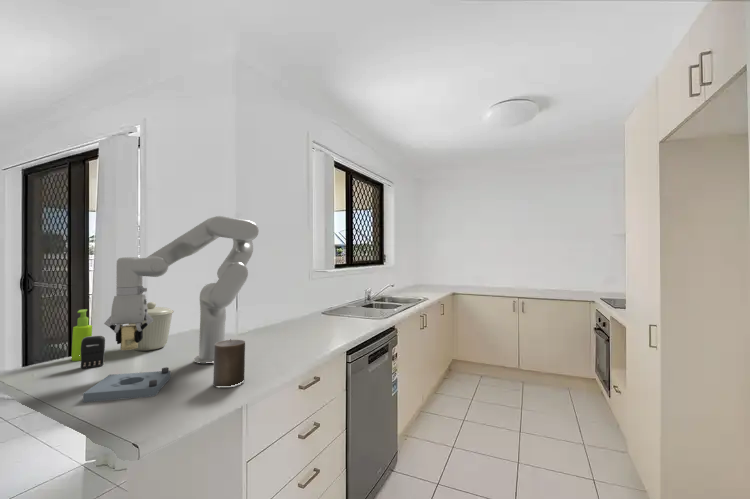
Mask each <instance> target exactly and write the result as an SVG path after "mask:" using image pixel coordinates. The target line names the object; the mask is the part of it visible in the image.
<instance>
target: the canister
mask: <svg viewBox="0 0 750 499" xmlns="http://www.w3.org/2000/svg"><path fill="white" fill-rule="evenodd" d="M156 305H157V304H156V302H155V301H150V302H147V309H148V314H149V316H150V317H151V318H152V319H153V322H151V323H150V324H149V325H147V326H146V327H145V328H144V329H143V339H142V340H141V341H140V342H138V348H136V349H133V350H134V351H137V352H138V351H139V352H141V351H142V352H147V351H154V350H158V349H162V348H163V347H165V346H167V343H168V339H169V334H170V330H171V329H170V328H171V322H172V315H173V313H174V312H175V310H172V309H171V308H169V307H164V306H163V307H161V306H156ZM145 322H147V320H145V321H143V322H142V323H143V324H144V323H145ZM134 324H135V323H134ZM128 325H132V324H128Z"/></svg>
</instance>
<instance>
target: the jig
mask: <svg viewBox="0 0 750 499" xmlns="http://www.w3.org/2000/svg"><path fill="white" fill-rule="evenodd" d="M169 369H170V368H169V367H167V366H166V367H162V368H161V370H160V371H159V370H158V371H145V372H129V373H117V374H116V373H114V374H109V375H107V376H106V377H104V378H103V379H101V380H100V381H98V383H96V384H94V385H93V386H92V387H90V388H88V389H87V390H86V391H85V392H83V395H82V403H89V402H90V403H91V402H102V401H111V400H112V401H114V400H115V401H116V400H126V399H137V398H149V397H150V398H151V397H155V396H156V395H157V394H158V393H159V392H160V391H161V390H162V388H163V387H164V386H165V385H166V384H167V383H168V382H169V381H170V379H171V372H172V371H171V370H169Z"/></svg>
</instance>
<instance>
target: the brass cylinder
mask: <svg viewBox="0 0 750 499" xmlns="http://www.w3.org/2000/svg"><path fill="white" fill-rule="evenodd" d="M136 332H137V327H136V324H132V325H129V324H123V326H121V343H120V350H121V351H132V350H134V349H136V348H138V343H136Z"/></svg>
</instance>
